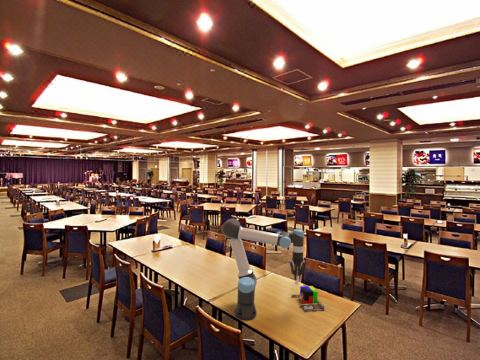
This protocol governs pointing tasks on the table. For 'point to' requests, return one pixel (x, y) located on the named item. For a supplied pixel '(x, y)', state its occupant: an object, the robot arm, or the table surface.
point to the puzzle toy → (308, 294)
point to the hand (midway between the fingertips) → (296, 284)
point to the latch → (308, 307)
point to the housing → (316, 307)
